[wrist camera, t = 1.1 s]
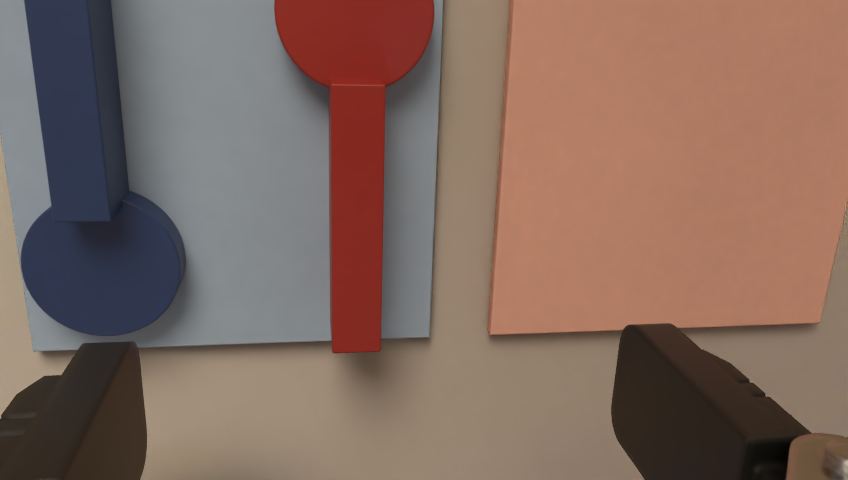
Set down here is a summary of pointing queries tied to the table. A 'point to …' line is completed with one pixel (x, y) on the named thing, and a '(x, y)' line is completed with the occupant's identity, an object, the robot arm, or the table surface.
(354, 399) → the table surface
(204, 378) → the table surface
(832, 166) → the red mat
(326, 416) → the table surface
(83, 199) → the blue spoon
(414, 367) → the table surface
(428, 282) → the blue mat
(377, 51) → the red spoon
